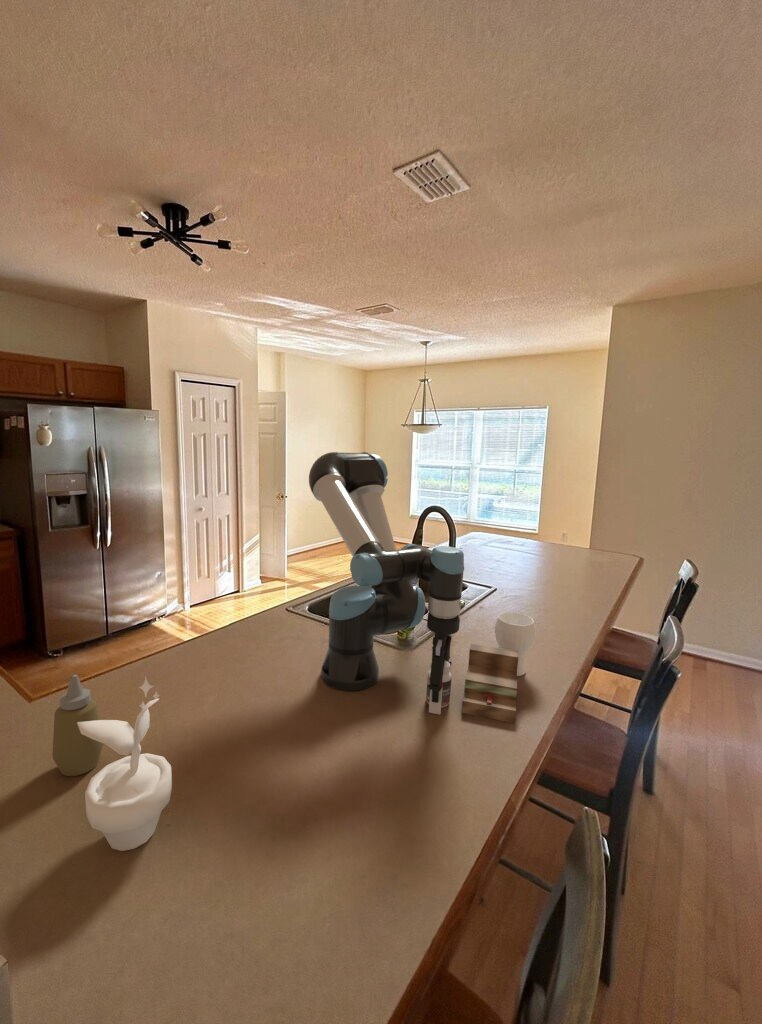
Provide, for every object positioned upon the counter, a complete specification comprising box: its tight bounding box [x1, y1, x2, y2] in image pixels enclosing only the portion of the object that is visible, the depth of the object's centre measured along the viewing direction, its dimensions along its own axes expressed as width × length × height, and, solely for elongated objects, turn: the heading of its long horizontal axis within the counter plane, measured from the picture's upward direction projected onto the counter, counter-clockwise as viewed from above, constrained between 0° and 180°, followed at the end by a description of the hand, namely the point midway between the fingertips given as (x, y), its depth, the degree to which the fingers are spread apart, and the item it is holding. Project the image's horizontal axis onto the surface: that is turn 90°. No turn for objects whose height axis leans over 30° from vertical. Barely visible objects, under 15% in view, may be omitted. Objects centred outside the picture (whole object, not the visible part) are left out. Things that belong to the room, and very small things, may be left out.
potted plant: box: [77, 675, 173, 852], centre depth 70 cm, size 13×12×25 cm
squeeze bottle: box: [52, 674, 105, 777], centre depth 84 cm, size 8×8×18 cm
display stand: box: [461, 643, 518, 724], centre depth 113 cm, size 12×16×10 cm
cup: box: [494, 611, 536, 677], centre depth 128 cm, size 11×11×15 cm
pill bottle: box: [425, 661, 453, 709], centre depth 111 cm, size 6×6×10 cm
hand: (438, 701), depth 112 cm, fingers open, 9 cm apart
